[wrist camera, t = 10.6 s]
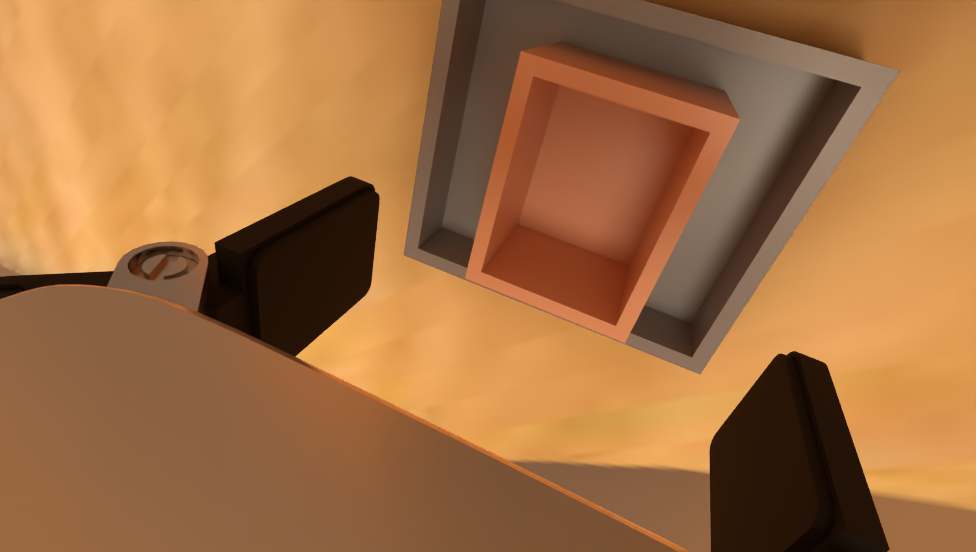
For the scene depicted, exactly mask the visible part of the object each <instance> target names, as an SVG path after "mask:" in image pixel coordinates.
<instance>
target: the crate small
mask: <svg viewBox="0 0 976 552" xmlns="http://www.w3.org/2000/svg"><path fill="white" fill-rule="evenodd" d="M739 121H740V117H739V116H738V114H737V112H736V110H735V108H734V106H733V104H732V102H731V100H730V99H729V97H728V95H727V93H726V91H723V90H720V89H716V88H713V87H710V86H707V85H703V84H700V83H697V82H693V81H690V80H687V79H683V78H680V77H677V76H673V75H670V74H667V73H664V72H660V71H657V70H654V69H650V68H647V67H644V66H640V65H637V64H634V63H630V62H627V61H624V60H621V59H617V58H614V57H611V56H607V55H604V54H601V53H597V52H594V51H591V50H587V49H584V48H581V47H578V46H574V45H571V44H568V43H564V42H561V41H560V42H556V43H552V44H548V45H544V46H540V47H536V48H532V49H528V50H524V51H521V53H520V57H519V61H518V65H517V69H516V73H515V77H514V81H513V85H512V90H511V94H510V98H509V102H508V106H507V110H506V114H505V118H504V122H503V126H502V130H501V134H500V138H499V142H498V146H497V150H496V154H495V158H494V162H493V167H492V171H491V175H490V179H489V183H488V187H487V191H486V195H485V199H484V203H483V207H482V211H481V215H480V219H479V223H478V227H477V231H476V235H475V239H474V244H473V248H472V252H471V256H470V260H469V264H468V268H467V272H466V276H465V279H468V280H470V281H473V282H475V283H478V284H480V285H482V286H485V287H487V288H490V289H492V290H495V291H497V292H500V293H502V294H505V295H507V296H510V297H512V298H515V299H517V300H519V301H522V302H524V303H527V304H529V305H532V306H534V307H537V308H539V309H542V310H544V311H547V312H549V313H551V314H554V315H556V316H559V317H561V318H564V319H566V320H569V321H571V322H574V323H576V324H579V325H581V326H583V327H586V328H588V329H591V330H593V331H596V332H598V333H601V334H603V335H606V336H608V337H611V338H613V339H616V340H618V341H620V342H623V343H625V342H626V340H627V338H628V336H629V334H630V332H631V330H632V328H633V326H634V325H635V323H636V321H637V319H638V317H639V315H640V313H641V311H642V309H643V307H644V305H645V303H646V301H647V299H648V297H649V295H650V294H651V292H652V290H653V288H654V286H655V284H656V282H657V280H658V278H659V276H660V274H661V272H662V270H663V268H664V266H665V264H666V263H667V261H668V259H669V257H670V255H671V253H672V251H673V249H674V247H675V245H676V243H677V241H678V239H679V237H680V235H681V234H682V232H683V230H684V228H685V226H686V224H687V222H688V220H689V218H690V216H691V214H692V212H693V210H694V208H695V206H696V204H697V203H698V201H699V199H700V197H701V195H702V193H703V191H704V189H705V187H706V185H707V183H708V181H709V179H710V177H711V175H712V173H713V172H714V170H715V168H716V166H717V164H718V162H719V160H720V158H721V156H722V154H723V152H724V150H725V148H726V146H727V144H728V142H729V141H730V139H731V137H732V135H733V133H734V131H735V129H736V127H737V125H738V123H739Z"/></svg>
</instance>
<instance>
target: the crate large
mask: <svg viewBox="0 0 976 552" xmlns="http://www.w3.org/2000/svg"><path fill="white" fill-rule="evenodd" d="M560 41H561V42H564V43H568V44H571V45H574V46H578V47H581V48H584V49H587V50H591V51H594V52H597V53H601V54H604V55H607V56H611V57H614V58H617V59H621V60H624V61H627V62H630V63H634V64H637V65H640V66H644V67H647V68H650V69H654V70H657V71H660V72H664V73H667V74H670V75H673V76H677V77H680V78H683V79H687V80H690V81H693V82H697V83H700V84H703V85H707V86H710V87H713V88H716V89H720V90H723V91H726V93H727V95H728V97H729V99H730V100H731V102H732V104H733V106H734V108H735V110H736V112H737V114H738V116H739V117H740V121H739V123H738V125H737V127H736V129H735V131H734V133H733V135H732V137H731V139H730V141H729V142H728V144H727V146H726V148H725V150H724V152H723V154H722V156H721V158H720V160H719V162H718V164H717V166H716V168H715V170H714V172H713V173H712V175H711V177H710V179H709V181H708V183H707V185H706V187H705V189H704V191H703V193H702V195H701V197H700V199H699V201H698V203H697V204H696V206H695V208H694V210H693V212H692V214H691V216H690V218H689V220H688V222H687V224H686V226H685V228H684V230H683V232H682V234H681V235H680V237H679V239H678V241H677V243H676V245H675V247H674V249H673V251H672V253H671V255H670V257H669V259H668V261H667V263H666V264H665V266H664V268H663V270H662V272H661V274H660V276H659V278H658V280H657V282H656V284H655V286H654V288H653V290H652V292H651V294H650V295H649V297H648V299H647V301H646V303H645V305H644V307H643V309H642V311H641V313H640V315H639V317H638V319H637V321H636V323H635V325H634V326H633V328H632V330H631V332H630V334H629V336H628V338H627V340H626V342H625V343H623V342H621V343H623V344H626V345H628V346H631V347H633V348H636V349H638V350H641V351H643V352H645V353H648V354H650V355H653V356H655V357H658V358H660V359H663V360H665V361H668V362H670V363H673V364H675V365H678V366H680V367H683V368H685V369H688V370H690V371H693V372H695V373H698V374H701V372H702V371H703V369H704V368H705V366H706V365H707V363H708V362H709V360H710V359H711V357H712V356H713V354H714V353H715V351H716V350H717V348H718V347H719V345H720V344H721V342H722V340H723V339H724V337H725V336H726V334H727V333H728V331H729V330H730V328H731V327H732V325H733V324H734V322H735V321H736V319H737V318H738V316H739V315H740V313H741V312H742V310H743V309H744V307H745V305H746V304H747V302H748V301H749V299H750V298H751V296H752V295H753V293H754V292H755V290H756V289H757V287H758V286H759V284H760V283H761V281H762V280H763V278H764V277H765V275H766V274H767V272H768V270H769V269H770V267H771V266H772V264H773V263H774V261H775V260H776V258H777V257H778V255H779V254H780V252H781V251H782V249H783V248H784V246H785V245H786V243H787V242H788V240H789V239H790V237H791V236H792V234H793V232H794V231H795V229H796V228H797V226H798V225H799V223H800V222H801V220H802V219H803V217H804V216H805V214H806V213H807V211H808V210H809V208H810V207H811V205H812V204H813V202H814V201H815V199H816V197H817V196H818V194H819V193H820V191H821V190H822V188H823V187H824V185H825V184H826V182H827V181H828V179H829V178H830V176H831V175H832V173H833V172H834V170H835V169H836V167H837V166H838V164H839V162H840V161H841V159H842V158H843V156H844V155H845V153H846V152H847V150H848V149H849V147H850V146H851V144H852V143H853V141H854V140H855V138H856V137H857V135H858V134H859V132H860V131H861V129H862V127H863V126H864V124H865V123H866V121H867V120H868V118H869V117H870V115H871V114H872V112H873V111H874V109H875V108H876V106H877V105H878V103H879V102H880V100H881V99H882V97H883V96H884V94H885V92H886V91H887V89H888V88H889V86H890V85H891V83H892V82H893V80H894V79H895V77H896V76H897V74H898V73H899V71H900V70H896V69H892V68H889V67H885V66H882V65H878V64H874V63H871V62H867V61H863V60H860V59H856V58H852V57H849V56H845V55H841V54H838V53H834V52H830V51H827V50H823V49H819V48H816V47H812V46H808V45H805V44H801V43H798V42H794V41H790V40H787V39H783V38H779V37H776V36H772V35H768V34H765V33H761V32H757V31H754V30H750V29H746V28H743V27H739V26H735V25H732V24H728V23H724V22H721V21H717V20H713V19H710V18H706V17H702V16H699V15H695V14H692V13H688V12H684V11H681V10H677V9H673V8H670V7H666V6H662V5H659V4H655V3H651V2H648V1H644V0H443V1H442V7H441V14H440V20H439V27H438V33H437V40H436V46H435V53H434V60H433V66H432V73H431V79H430V86H429V92H428V99H427V106H426V112H425V119H424V125H423V132H422V138H421V145H420V152H419V158H418V165H417V171H416V178H415V184H414V191H413V198H412V204H411V211H410V217H409V224H408V230H407V237H406V243H405V250H404V255H405V256H407V257H410V258H412V259H415V260H417V261H420V262H422V263H425V264H427V265H430V266H432V267H435V268H437V269H439V270H442V271H444V272H447V273H449V274H452V275H454V276H457V277H459V278H462V279H464V280H467V281H469V282H472V283H474V284H477V285H479V286H482V285H480V284H478V283H475V282H473V281H470V280H468V279H465V276H466V272H467V268H468V264H469V260H470V256H471V252H472V248H473V244H474V239H475V235H476V231H477V227H478V223H479V219H480V215H481V211H482V207H483V203H484V199H485V195H486V191H487V187H488V183H489V179H490V175H491V171H492V167H493V162H494V158H495V154H496V150H497V146H498V142H499V138H500V134H501V130H502V126H503V122H504V118H505V114H506V110H507V106H508V102H509V98H510V94H511V90H512V85H513V81H514V77H515V73H516V69H517V65H518V61H519V57H520V53H521V51H524V50H528V49H532V48H536V47H540V46H544V45H548V44H552V43H556V42H560ZM482 287H484V288H487V287H485V286H482ZM487 289H489V290H492V289H490V288H487ZM492 291H494V292H497V291H495V290H492ZM497 293H499V294H502V293H500V292H497ZM502 295H504V296H507V295H505V294H502ZM507 297H509V298H511V299H514V300H516V301H519V300H517V299H515V298H512V297H510V296H507ZM519 302H521V303H524V302H522V301H519ZM524 304H526V305H529V304H527V303H524ZM529 306H531V307H534V306H532V305H529ZM534 308H536V309H539V308H537V307H534ZM539 310H541V311H544V310H542V309H539ZM544 312H546V313H549V312H547V311H544ZM549 314H551V313H549ZM551 315H554V314H551ZM554 316H556V315H554ZM556 317H559V316H556ZM559 318H561V317H559ZM561 319H564V318H561ZM564 320H566V319H564ZM566 321H569V320H566ZM569 322H571V321H569ZM571 323H574V322H571ZM574 324H576V323H574ZM576 325H578V326H581V325H579V324H576ZM581 327H583V326H581ZM583 328H586V327H583ZM586 329H588V328H586ZM588 330H591V329H588ZM591 331H593V330H591ZM593 332H596V331H593ZM596 333H598V332H596ZM598 334H601V333H598ZM601 335H603V334H601ZM603 336H606V335H603ZM606 337H608V336H606ZM608 338H611V337H608ZM611 339H613V338H611ZM613 340H616V339H613ZM616 341H618V340H616ZM618 342H620V341H618Z"/></svg>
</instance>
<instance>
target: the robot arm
mask: <svg viewBox="0 0 976 552" xmlns="http://www.w3.org/2000/svg"><path fill="white" fill-rule="evenodd" d="M378 211H379V194H378V193H376V192H375V188H374V186H373V185H372V184H370V183H367V182H365V181H362V180H359V179H357V178H354V177H351V176H350V177H347V178H345V179H343V180H341V181H339V182H336V183H334V184H332V185H330V186H328V187H326V188H324V189H322V190H320V191H318V192H316V193H314V194H312V195H310V196H308V197H306V198H304V199H302V200H300V201H298V202H296V203H294V204H292V205H290V206H288V207H286V208H284V209H282V210H280V211H278V212H276V213H274V214H272V215H270V216H268V217H266V218H264V219H262V220H259V221H257V222H255V223H253V224H251V225H249V226H247V227H245V228H243V229H241V230H239V231H237V232H235V233H233V234H231V235H229V236H227V237H225V238H223V239H221V240H219V241H217V242H215V250H216V252H215V253H213V254H211V255H209V256H207V254H206V253H205V252H204V251H203V250H202V249H200V248H198V247H197V246H195V245H191V244H187V243H182V242H157V243H152V244H147V245H143V246H141V247H138V248H136V249H133V250H131V251H130V252H128V253H127V254H125V255H124V256H123V257H122V258H121V259H120V261H119V262H118V264H117V266H116V268H115V270H114V271H108V272H86V273H64V274H43V275H21V276H5V277H0V552H689V551H687V550H685V549H683V548H681V547H679V546H677V545H675V544H674V543H672V542H670V541H668V540H666V539H664V538H662V537H660V536H658V535H656V534H654V533H652V532H650V531H648V530H646V529H644V528H642V527H639V526H638V525H636V524H634V523H632V522H630V521H628V520H626V519H624V518H622V517H620V516H618V515H616V514H614V513H612V512H610V511H607V510H606V509H604V508H602V507H600V506H598V505H596V504H594V503H592V502H590V501H588V500H585V499H584V498H582V497H580V496H578V495H576V494H574V493H572V492H570V491H568V490H565V489H564V488H561V487H560V486H558V485H556V484H553V483H552V482H550V481H547V480H545V479H543V478H542V477H540V476H538V475H536V474H533V473H532V472H530V471H527V470H525V469H523V468H521V467H519V466H517V465H515V464H513V463H511V462H509V461H507V460H505V459H503V458H501V457H499V456H497V455H495V454H493V453H491V452H489V451H487V450H485V449H483V448H481V447H479V446H477V445H475V444H473V443H471V442H469V441H467V440H465V439H463V438H461V437H459V436H456V435H454V434H452V433H450V432H448V431H446V430H444V429H442V428H440V427H438V426H436V425H434V424H432V423H430V422H428V421H426V420H424V419H422V418H420V417H418V416H416V415H414V414H412V413H410V412H408V411H406V410H404V409H401V408H399V407H397V406H395V405H393V404H391V403H389V402H387V401H385V400H383V399H381V398H379V397H377V396H375V395H373V394H371V393H369V392H367V391H364V390H362V389H360V388H358V387H356V386H354V385H352V384H350V383H348V382H346V381H344V380H342V379H340V378H338V377H336V376H334V375H331V374H329V373H327V372H325V371H323V370H321V369H319V368H317V367H315V366H313V365H311V364H309V363H307V362H305V361H303V360H301V359H298V358H296V357H295V356H296V355H298V354H299V353H300V352H301V351H302V350H303V349H304V348H306V347H307V346H308V345H309V344H310V343H311V342H313V341H314V340H315V339H316V338H317V337H318V336H319V335H321V334H322V333H323V332H324V331H325V330H326V329H327V328H329V327H330V326H331V325H332V324H333V323H334V322H335V321H337V320H338V319H339V318H340V317H341V316H342V315H344V314H345V313H346V312H347V311H348V310H349V309H350V308H352V307H353V306H354V305H355V304H356V303H357V302H358V301H360V300H361V299H362V298H363V297H364V296H365V295H366V294H367V292H368V291H369V289H370V286H371V281H372V271H373V261H374V251H375V241H376V231H377V221H378ZM710 511H711V552H887V551H888V550H889V546H888V543H887V541H886V537H885V534H884V532H883V529H882V526H881V523H880V520H879V517H878V514H877V511H876V508H875V505H874V502H873V499H872V496H871V493H870V490H869V487H868V484H867V482H866V479H865V476H864V473H863V470H862V467H861V464H860V461H859V458H858V455H857V452H856V449H855V446H854V443H853V440H852V437H851V434H850V432H849V429H848V426H847V423H846V420H845V417H844V414H843V411H842V408H841V405H840V402H839V399H838V396H837V393H836V390H835V387H834V384H833V382H832V379H831V376H830V373H829V370H828V367H827V365H826V364H825V363H823V362H821V361H819V360H816V359H813V358H811V357H808V356H806V355H803V354H801V353H798V352H796V351H793V352H790V353H789V354H788V355H784V354H778V355H777V356H776V357H775V358H774V359H773V360H772V362H771V363H770V364H769V365H768V367H767V368H766V369H765V371H764V372H763V373H762V375H761V376H760V377H759V378H758V380H757V381H756V382H755V384H754V385H753V386H752V387H751V389H750V390H749V391H748V393H747V394H746V395H745V397H744V398H743V399H742V400H741V402H740V403H739V404H738V406H737V407H736V408H735V409H734V411H733V412H732V413H731V415H730V416H729V417H728V418H727V420H726V421H725V422H724V424H723V425H722V426H721V428H720V429H719V430H718V431H717V433H716V434H715V436H714V437H713V440H712V442H711V446H710Z"/></svg>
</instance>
